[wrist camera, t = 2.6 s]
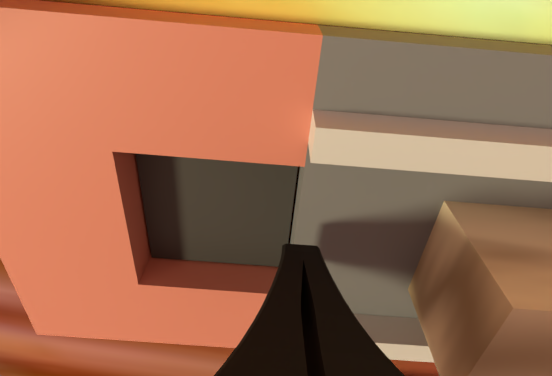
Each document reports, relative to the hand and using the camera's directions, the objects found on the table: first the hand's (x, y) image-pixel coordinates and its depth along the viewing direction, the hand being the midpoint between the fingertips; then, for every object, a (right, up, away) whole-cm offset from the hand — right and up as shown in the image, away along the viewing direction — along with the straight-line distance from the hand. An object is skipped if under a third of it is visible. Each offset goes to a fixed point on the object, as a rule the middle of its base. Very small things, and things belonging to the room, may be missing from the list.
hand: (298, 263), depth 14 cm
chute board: (+8, +1, +3) cm, 9 cm away
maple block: (+8, 0, +1) cm, 8 cm away
